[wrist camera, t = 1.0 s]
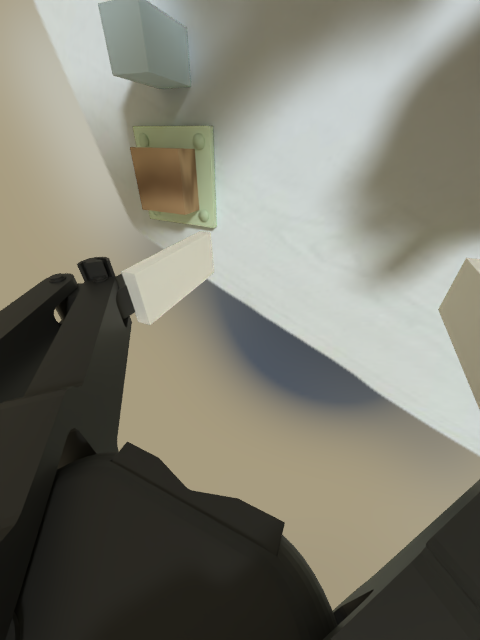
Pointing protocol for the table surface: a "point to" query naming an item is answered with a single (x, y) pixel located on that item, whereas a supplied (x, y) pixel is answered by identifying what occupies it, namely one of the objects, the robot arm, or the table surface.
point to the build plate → (204, 156)
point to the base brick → (166, 179)
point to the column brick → (145, 44)
